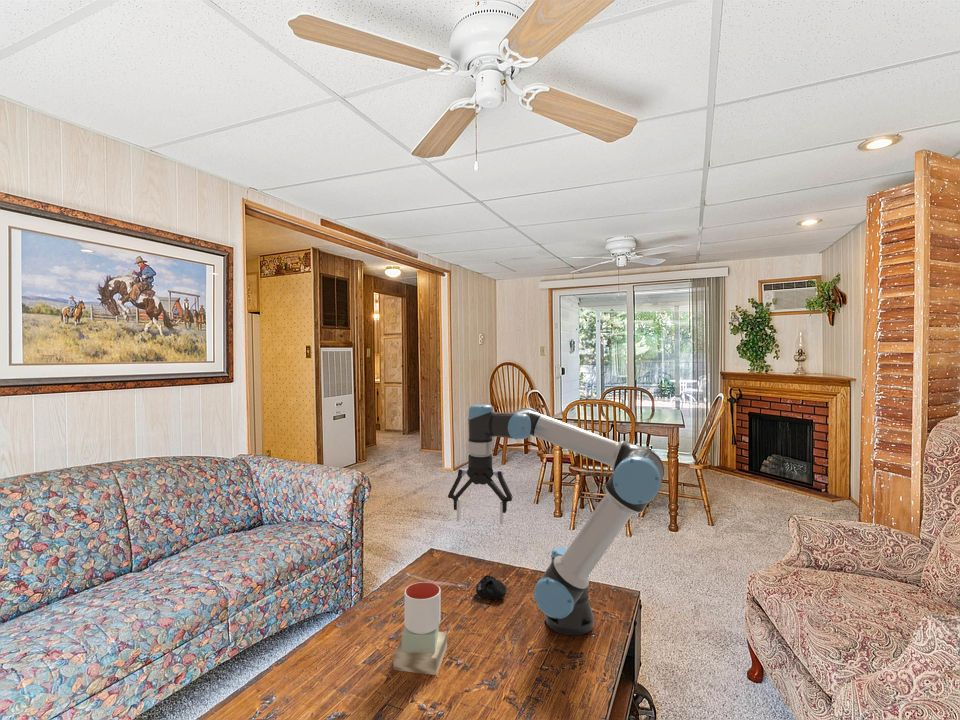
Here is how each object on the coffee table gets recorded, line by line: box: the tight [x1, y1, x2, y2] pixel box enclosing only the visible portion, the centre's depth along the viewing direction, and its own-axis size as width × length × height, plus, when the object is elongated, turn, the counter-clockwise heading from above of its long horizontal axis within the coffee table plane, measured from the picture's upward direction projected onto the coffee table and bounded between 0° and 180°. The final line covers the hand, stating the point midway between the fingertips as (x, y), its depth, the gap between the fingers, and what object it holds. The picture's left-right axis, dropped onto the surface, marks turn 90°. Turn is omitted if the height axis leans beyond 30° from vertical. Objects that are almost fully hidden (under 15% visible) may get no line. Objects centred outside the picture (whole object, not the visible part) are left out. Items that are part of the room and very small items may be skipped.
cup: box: [404, 581, 442, 634], centre depth 135 cm, size 10×10×10 cm
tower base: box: [392, 631, 448, 676], centre depth 136 cm, size 12×12×5 cm
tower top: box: [401, 625, 440, 653], centre depth 136 cm, size 9×9×5 cm
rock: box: [475, 575, 507, 600], centre depth 172 cm, size 9×10×10 cm
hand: (480, 521), depth 152 cm, fingers open, 13 cm apart
